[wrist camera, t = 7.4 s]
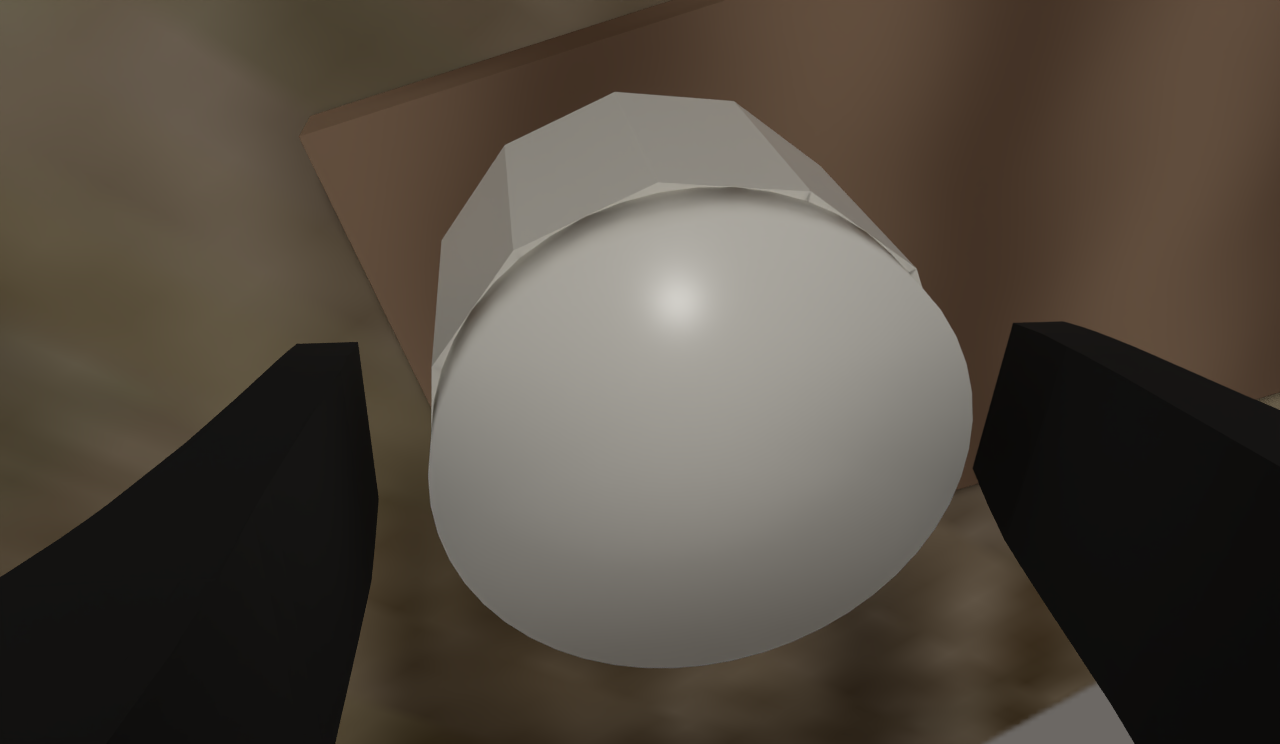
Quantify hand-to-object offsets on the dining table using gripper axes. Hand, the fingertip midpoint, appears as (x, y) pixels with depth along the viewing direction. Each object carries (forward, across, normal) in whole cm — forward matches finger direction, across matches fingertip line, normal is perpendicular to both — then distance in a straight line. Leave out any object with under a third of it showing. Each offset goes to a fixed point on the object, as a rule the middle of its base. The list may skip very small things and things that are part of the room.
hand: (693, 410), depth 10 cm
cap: (+3, 0, 0) cm, 3 cm away
